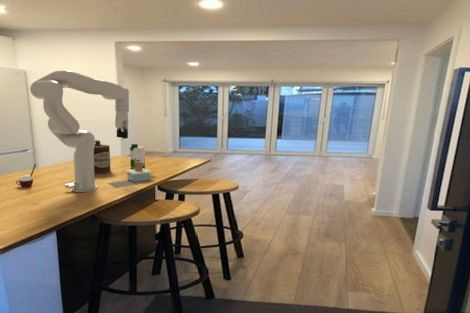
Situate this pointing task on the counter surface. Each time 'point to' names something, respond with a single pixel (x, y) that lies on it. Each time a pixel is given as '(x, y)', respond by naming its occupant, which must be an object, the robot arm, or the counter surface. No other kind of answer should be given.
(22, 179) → the cocoa
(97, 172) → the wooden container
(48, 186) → the counter surface
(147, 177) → the dish
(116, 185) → the mat
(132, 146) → the milk carton
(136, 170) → the lid
